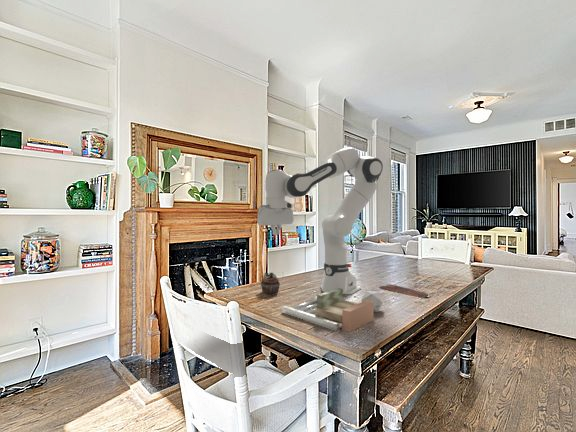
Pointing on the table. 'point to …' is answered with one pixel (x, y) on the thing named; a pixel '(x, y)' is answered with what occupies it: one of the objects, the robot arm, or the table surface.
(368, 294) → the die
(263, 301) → the table surface
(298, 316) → the roller track
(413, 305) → the table surface
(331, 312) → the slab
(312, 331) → the table surface
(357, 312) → the block
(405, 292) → the wooden tablet
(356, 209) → the robot arm
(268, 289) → the cupcake
